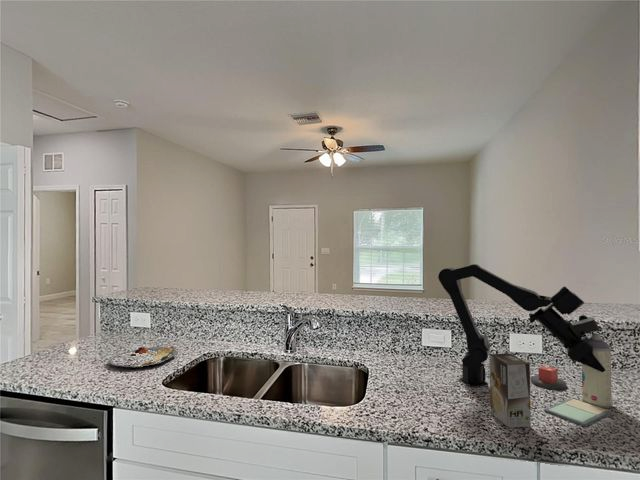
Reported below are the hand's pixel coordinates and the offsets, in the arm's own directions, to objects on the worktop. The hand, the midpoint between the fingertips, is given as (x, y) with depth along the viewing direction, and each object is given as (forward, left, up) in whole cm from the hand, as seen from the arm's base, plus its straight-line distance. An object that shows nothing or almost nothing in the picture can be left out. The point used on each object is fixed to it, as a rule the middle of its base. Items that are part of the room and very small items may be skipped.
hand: (602, 367), depth 107 cm
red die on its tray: (-2, +17, -11) cm, 20 cm away
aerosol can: (-1, +1, -11) cm, 11 cm away
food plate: (-138, +78, -11) cm, 159 cm away
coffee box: (-32, -1, -11) cm, 34 cm away
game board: (-11, -2, -11) cm, 16 cm away
